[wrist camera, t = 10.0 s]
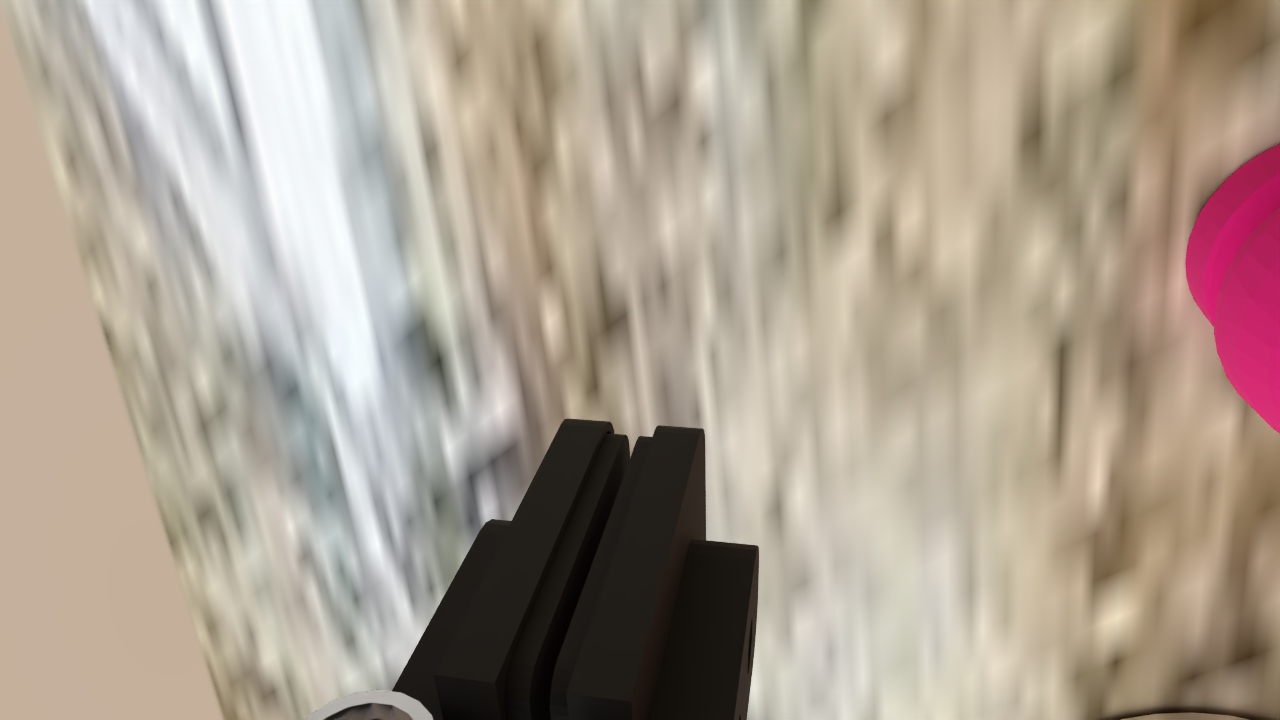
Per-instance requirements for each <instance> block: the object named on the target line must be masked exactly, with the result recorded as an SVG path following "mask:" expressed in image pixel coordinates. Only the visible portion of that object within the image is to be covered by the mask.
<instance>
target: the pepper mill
mask: <svg viewBox="0 0 1280 720" xmlns="http://www.w3.org/2000/svg"><path fill="white" fill-rule="evenodd" d="M1186 276H1187V281H1188V285H1189V289H1190V291H1191V293H1192V296H1193V298H1194V300H1195V302H1196V303H1197V305H1198V306H1199V308H1200V309H1201V311H1202V312H1203V314H1204V315H1205V316H1206V318H1207V319H1208V320H1209V321H1210V323H1211V324H1212V325H1213V326H1214V335H1215V341H1216V347H1217V352H1218V355H1219V358H1220V360H1221V363H1222V365H1223V368H1224V370H1225V373H1226V376H1227V378H1228V379H1229V381H1230V382H1231V384H1232V385H1233V387H1234V388H1235V390H1236V391H1237V393H1238V394H1239V395H1240V396H1241V397H1242V398H1243V399H1244V400H1245V401H1246V402H1247V403H1248V404H1249V405H1250V406H1251V407H1252V408H1253V409H1254V410H1255V411H1256V412H1257V413H1258V414H1259V415H1260V416H1261V417H1262V418H1263V419H1264V420H1265V421H1266V422H1267V423H1268V424H1269V425H1270V426H1271V427H1272V428H1273V429H1274V430H1276V431H1277V432H1278V433H1280V144H1278V145H1277V146H1275V147H1273V148H1271V149H1269V150H1267V151H1265V152H1263V153H1261V154H1259V155H1258V156H1256V157H1254V158H1253V159H1251V160H1250V161H1249V162H1247V163H1246V164H1244V165H1243V166H1242V167H1240V168H1239V169H1238V170H1237V171H1235V172H1234V173H1233V174H1232V175H1231V176H1230V177H1228V178H1227V179H1226V180H1225V182H1224V183H1223V184H1222V185H1221V186H1220V187H1219V188H1218V189H1217V191H1216V192H1215V193H1214V194H1213V195H1212V196H1211V197H1210V199H1209V200H1208V202H1207V203H1206V205H1205V206H1204V207H1203V209H1202V210H1201V212H1200V214H1199V216H1198V218H1197V221H1196V223H1195V226H1194V228H1193V231H1192V233H1191V235H1190V238H1189V242H1188V246H1187V253H1186Z"/></svg>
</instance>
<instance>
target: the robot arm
mask: <svg viewBox="0 0 1280 720" xmlns="http://www.w3.org/2000/svg"><path fill="white" fill-rule="evenodd" d="M758 573H759V547H758V546H756V545H746V544H736V543H726V542H716V541H706V491H705V434H704V430H703V429H699V428H686V427H672V426H657V427H656V429H655V432H654V435H653V437H645V436H640V437H638V439H637V441H636V444H635V447H634V450H633V452H632V455H631V458H630V451H629V440H628V437H627V436H626V435H620V434H614V429H613V426H612V424H611V422H606V421H593V420H579V419H565V420H564V421H563V422H562V424H561V425H560V427H559V429H558V431H557V433H556V435H555V437H554V439H553V441H552V443H551V445H550V447H549V449H548V451H547V453H546V455H545V457H544V459H543V461H542V463H541V465H540V467H539V469H538V471H537V473H536V475H535V476H534V478H533V480H532V482H531V484H530V486H529V488H528V490H527V492H526V494H525V496H524V498H523V500H522V502H521V504H520V506H519V508H518V510H517V512H516V514H515V516H514V518H513V520H512V521H505V520H495V519H492V520H490V521H488V522H486V523H485V525H484V526H483V528H482V529H481V530H480V532H479V534H478V536H477V537H476V539H475V541H474V543H473V545H472V546H471V548H470V550H469V552H468V554H467V555H466V557H465V559H464V561H463V563H462V565H461V566H460V568H459V570H458V572H457V574H456V575H455V577H454V579H453V581H452V583H451V585H450V586H449V588H448V590H447V592H446V594H445V595H444V597H443V599H442V601H441V603H440V605H439V606H438V608H437V610H436V612H435V614H434V616H433V617H432V619H431V621H430V623H429V625H428V626H427V628H426V630H425V632H424V634H423V636H422V637H421V639H420V641H419V643H418V645H417V646H416V648H415V650H414V652H413V654H412V655H411V657H410V659H409V661H408V663H407V665H406V666H405V668H404V670H403V672H402V674H401V675H400V677H399V679H398V681H397V683H396V685H395V686H394V688H393V690H392V691H385V690H373V691H365V692H356V693H353V694H350V695H347V696H345V697H342V698H339V699H336V700H333V701H331V702H329V703H328V704H326V705H324V706H323V707H321V708H319V709H318V710H316V711H315V712H313V713H311V714H310V715H308V716H307V717H306V718H305V719H304V720H746V719H747V711H748V702H749V694H750V685H751V676H752V668H753V658H754V647H755V635H756V621H757V603H758ZM1120 720H1249V719H1244V718H1240V717H1235V716H1230V715H1218V714H1206V713H1194V712H1189V713H1162V714H1151V715H1145V716H1138V717H1132V718H1126V719H1120Z"/></svg>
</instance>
